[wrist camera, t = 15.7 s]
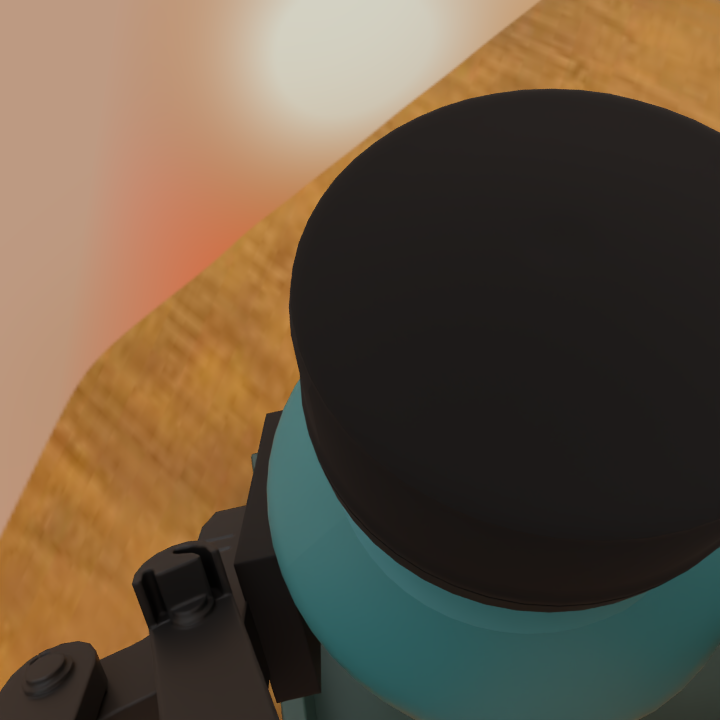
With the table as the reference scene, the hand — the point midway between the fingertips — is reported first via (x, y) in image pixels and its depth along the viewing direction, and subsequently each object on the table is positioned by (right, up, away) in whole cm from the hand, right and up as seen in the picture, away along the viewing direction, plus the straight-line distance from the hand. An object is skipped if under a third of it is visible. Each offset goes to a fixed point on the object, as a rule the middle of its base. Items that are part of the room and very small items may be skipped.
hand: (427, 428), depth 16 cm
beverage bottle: (+2, -7, +6) cm, 9 cm away
